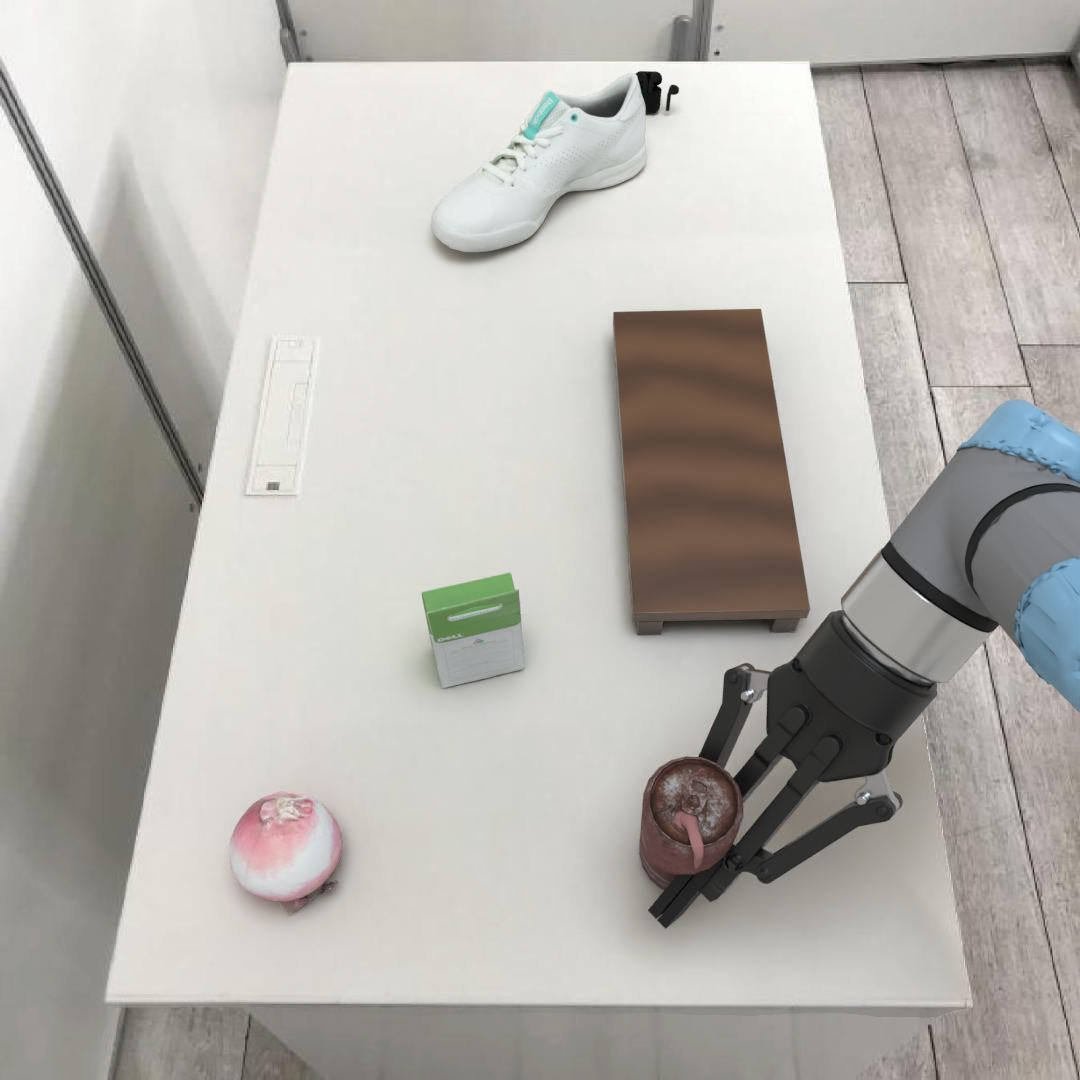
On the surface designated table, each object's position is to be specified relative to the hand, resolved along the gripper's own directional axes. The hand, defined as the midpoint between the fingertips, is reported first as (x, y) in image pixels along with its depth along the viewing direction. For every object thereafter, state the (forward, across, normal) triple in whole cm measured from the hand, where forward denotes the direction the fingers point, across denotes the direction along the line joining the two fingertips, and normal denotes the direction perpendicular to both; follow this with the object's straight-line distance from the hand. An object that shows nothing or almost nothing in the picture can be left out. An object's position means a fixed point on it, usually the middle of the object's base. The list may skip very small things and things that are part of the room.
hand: (665, 912), depth 70 cm
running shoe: (-28, +61, -36) cm, 76 cm away
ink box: (+1, +25, -8) cm, 26 cm away
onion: (+16, +22, +7) cm, 28 cm away
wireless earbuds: (-41, +63, -50) cm, 90 cm away
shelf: (-18, +25, -26) cm, 40 cm away
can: (0, +2, -6) cm, 6 cm away
